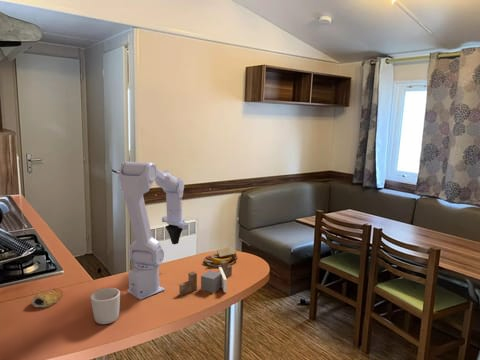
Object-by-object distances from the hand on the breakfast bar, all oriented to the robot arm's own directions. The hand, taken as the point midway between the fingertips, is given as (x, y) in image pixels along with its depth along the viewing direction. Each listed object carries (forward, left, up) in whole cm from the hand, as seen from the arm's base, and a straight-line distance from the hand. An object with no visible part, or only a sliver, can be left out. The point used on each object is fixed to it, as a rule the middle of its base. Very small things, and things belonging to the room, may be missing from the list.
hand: (175, 243), depth 143 cm
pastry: (-45, +6, -10) cm, 46 cm away
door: (+2, -24, -9) cm, 26 cm away
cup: (-36, -16, -10) cm, 41 cm away
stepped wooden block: (-1, -20, -9) cm, 22 cm away
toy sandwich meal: (+16, -8, -10) cm, 21 cm away
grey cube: (-2, -23, -10) cm, 25 cm away
